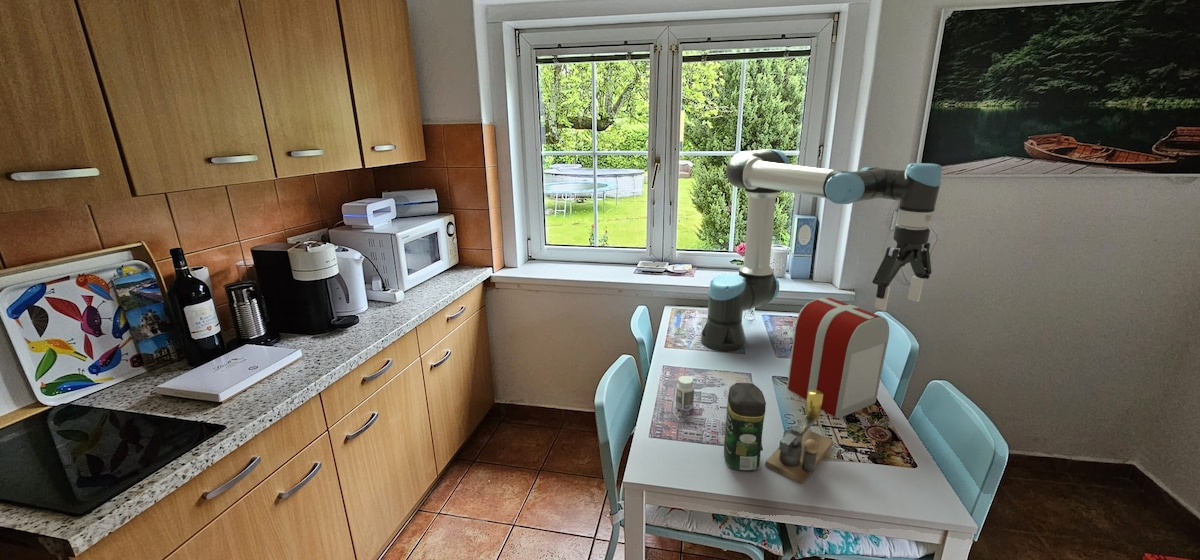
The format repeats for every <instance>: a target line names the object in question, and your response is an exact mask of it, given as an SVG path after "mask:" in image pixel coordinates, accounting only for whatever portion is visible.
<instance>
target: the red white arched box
mask: <svg viewBox="0 0 1200 560" xmlns="http://www.w3.org/2000/svg"><path fill="white" fill-rule="evenodd" d="M793 332H794V333H793V339H792V346H791V354H790V363H789V368H788V376H787V385H786V389H787V390H789V391H791V393H793V394H795V395H797V396H799V397H800V398H802V399H804V400H805V401H806V402H807V399H808V392H809V390H818V391H821V392H822V393H823V400H822V406H821V411H823V412H825V413H826V414H828V415H830V416H832V417H833V418H835V419H841V418H843V417H847V416H848V415H851V414H853V413H855V412H857V411H860V410H863V409H864V408H867V407H870V406H871V405H874V404H876V402H877V397H878V394H879V393H878V392H879V388H880V383H881V378H882V372H883V368H884V363H885V359H886V353H887V348H888V344H889V339H890V326H889V322H888V320H887V319H886V318H885V317H883V316H881V315H878V314H875V313H873V312H869V311H867V310H864V309H862V308H861V307H859V306H856V305H853V304H849V303H846V302H843V301H840V300H838V299H835V298H832V297H820V298H817V299H814V300H810V301H809V302H807V303H806V304H804V306H802V308H801V309H800V311H799V313H798V315H797V318H796V321H795V325H794V331H793Z"/></svg>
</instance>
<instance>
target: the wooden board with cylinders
mask: <svg viewBox="0 0 1200 560" xmlns="http://www.w3.org/2000/svg"><path fill="white" fill-rule="evenodd" d="M833 445H834V440H833V439H830V438H829V437H826V436H824V435H821V434H819V433H816V432H814V431H812V430H810V429H808V430H807V431H806V432H805V434H804V435H803V436H802V444H801V446H800V447H798V448H792V449H791V450H790V451H789V453H788V454H787V453H785V452H783V451H781V450H779V447H778V448H777V449H776V450H774V452H773V453H772V454H771V455H770V456H769V457H768V458H767V459H766V460H765V463H764V464H765V466H766V467H768V468H770V469H772V470H774V471H776V472H778V473H780V474H782V475H783V476H786V477H788V478H790V479H791V480H794V481H796V482H798V483H800V484H801V485H802V484H803V483H804V482H805V481H806V480H807V478H808V477H809V475H810V474H812V473H814V471H815V468H816V467H817V466H818V464H819V463H820V462H821V460H823V458H824V456H825V455H826V454H827V452H828V451H830V449H831V448H832V446H833Z"/></svg>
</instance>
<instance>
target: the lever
mask: <svg viewBox="0 0 1200 560" xmlns="http://www.w3.org/2000/svg"><path fill="white" fill-rule="evenodd" d="M822 400H823V393H822V392H821V391H818V390H809V392H808V399H807V401H806V407H805V413H804V414H805V416H804V418H803V419H802V420H801V421H800V422H799V423H798V424H797V425H796V426H795V427H794V429H787V430H784V431H783V435H782V439H780V440H779V446H778V448H779V450H781V451H783V452H785V453H787V454H788V453H789V451H790V450H791V449H792V448H798V447H800V446H801V444H802V436H803V435H804V434H805V432H806V431H807V430H810V429H811V427H812V426H813V425H814V423H816V420H817V419H818V420H819V419H820V417H821V411H822V409H821V406H822Z"/></svg>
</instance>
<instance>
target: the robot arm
mask: <svg viewBox="0 0 1200 560" xmlns="http://www.w3.org/2000/svg"><path fill="white" fill-rule="evenodd" d="M725 173H726V178H727V180H728V182H729V183H730V184H731V185H732V186H734V187H736V188H737V189H744V193H745V194H746V196H748V202H747V218H746V231H745V247H744V248H745V249H744V260H743V264H742V265H741V266H740V267H739V268H738V274H737V273H736V274H735V273H729V274H726V273H725V274H719V275H716V276H715V277H713V279H711V281H710V283H709V289H708V304H707V305H708V306H707V320H706V322H705V324H704V326H703V329H702V331H701V335H700V341H701V343H702V344H703V345H705V346H706V347H708V348H710V349H712V350H715V351H716V350H717V351H720V352H721V351H722V352H735V351H739V350H740V349H743V348H744V347H745V345H746V338H747V337H746V334H745V330H744V326H743V313H744V311H745V312H746V311H748V310H752V309H754V308H758V307H763V306H766V305H768V304H770V303H772V302H773V301H774V300H775V299H777V297H778V295H779V293H780V281H779V280H778V279H777V276H776V274H775V270H774V268H772V267H771V254H772V245H773V244H772V243H773V234H774V233H773V232H774V222H775V211H776V210H775V208H776V199H777V196H779V194H781V193H782V192H785V193H791V194H796V195H801V196H802V195H804V196H809V197H817V198H820V199H826V200H829V201H830V202H831V203H833V204H836V205H849V204H850V205H851V204H853V203H858V202H864V201H868V200H876V199H885V200H886V199H887V200H894V201H899V205H898V211H897V216H896V221H895V223H896V226H895V227H894V232H893V237H892V238H893V240H894V241H895V242H896V246H895V247H890V246H888V247H887V248H886V251H885V254H884V257H883V259H882V261H881V264H879V267H878V270H877V271H876V273H875V275H874V277H873V279H872V284H875V285H877V290H876V295H875V303H874V308H873V309H876V310H879V311H881V312H886V311H887V306H888V302H889V301H888V300H889V297H890V296H889V295H890V291H891V287H890V284H891V282H892V281H893V280H894V278H895V277H896V275H897V274H898V273H899V271H900V269H901V268H903V267H905V265H906V264H909V263H910V266H911V269H912V271H913V273H914V275H913V276H911V281H910V286H909V291H908V295H907V300H910V301H913V302H916V303H919V302H920V300H921V296H922V290H923V285H924V281H925V280H926V279H927V280H928V279H929V278H930V275H932V264H931V256H930V255H931V254H930V247H931V243H930V242H929V237H930V233H931V230H930V227H931V226H932V222H933V220H934V214H935V213H934V212H935V210H936V209H935V208H936V207H935V206H936V204H937V200H938V196H939V191H940V187H941V185H942V177H943V175H942V174H943V167H942V165H940V164H937V163H927V162H926V163H925V162H913V163H909V164H908V165H906V169H905V170H904V169H903V170H901V169H900V170H899V169H890V168H881V167H878V166H877V167H876V166H875V167H874V166H873V167H872V166H871V167H870V166H869V167H868V166H867V167H862V168H861V169H860V170H859V171H847V170H841V169H840V170H837V169H831V168H822V167H812V166H805V165H795V164H791V162H790V160H789V157H788V156H786V154H785V153H784V151H781V150H779V149H774V148H773V149H771V148H766V149H765V148H764V149H755V150H743V151H740V152H738V153H735V154H734V155H733V156H731V157H730V159H729V160H728V162H727V164H726V168H725Z"/></svg>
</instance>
